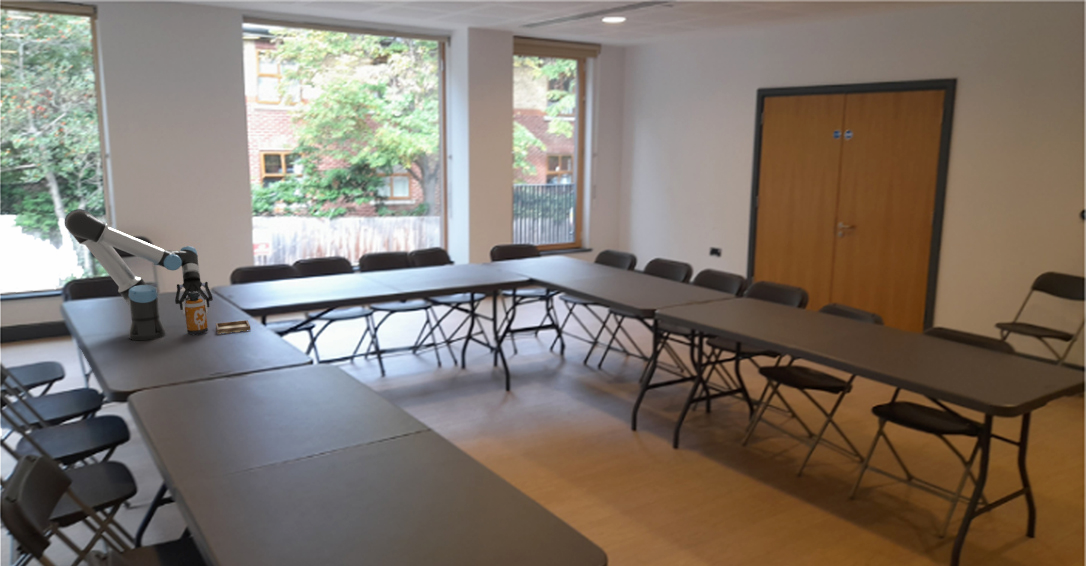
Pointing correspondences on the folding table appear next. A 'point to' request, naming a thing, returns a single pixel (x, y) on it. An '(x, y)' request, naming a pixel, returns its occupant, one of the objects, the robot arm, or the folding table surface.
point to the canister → (195, 314)
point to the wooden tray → (232, 326)
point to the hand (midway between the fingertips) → (195, 313)
